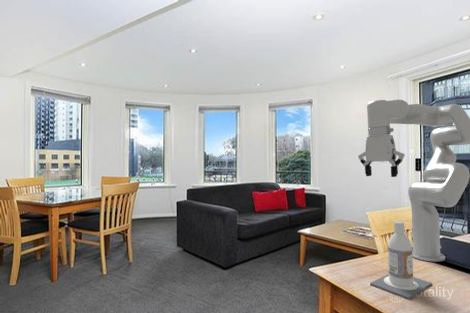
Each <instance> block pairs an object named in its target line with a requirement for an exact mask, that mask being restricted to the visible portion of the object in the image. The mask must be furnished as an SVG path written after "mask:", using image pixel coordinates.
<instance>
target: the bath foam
mask: <svg viewBox="0 0 470 313" xmlns="http://www.w3.org/2000/svg"><path fill="white" fill-rule="evenodd" d="M393 227H394V228H393V231H394V232H393V234H392V235H391V236H390V237H389V240H388V243H387V244H388V245H387V254H388V255H387V257H388V260H387V261H388V262H387V263H388V274H389V280H390V281H391V282H392V283H393V284H396V285H399V286H411V285H413V277H414V267H413V266H414V265H413V264H414V263H413V258H414V257H412V249H413V245H412V243H411V241H410V239H409V238H408V236H407V235H406V233H405V222H403V221H398V220H397V221H394V222H393Z"/></svg>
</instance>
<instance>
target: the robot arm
mask: <svg viewBox="0 0 470 313" xmlns="http://www.w3.org/2000/svg"><path fill="white" fill-rule="evenodd" d="M366 113H367V133H368V134H367V135H368V136H367V137H366V140H365V151H364V152H362V153H361V154H359V155H358V159H359V160H360V163H361V164H362V165H363V167H364V173H365V176H366V177H371V176H372V166H371V164H372V163H373V162H375V163H376V162H388V163H389V164H390V165H391V166H390V177H391V178H396V177H398V174H399V170H398V169H399V168H398V167H399V165H400V164H401V163H403V159H404V158H405V153H404V152H400V151H398V150H397V149H396V143H395V139H394V135H392V134H391V133H393V132H394V128H393V127H391V125H390V124H394V125H395V124H396V125H397V124H398V125H419V126H426V127H437V128H434V129H433V130H432V131H431V133H430V136H429V139H430V142H431V147H432V153H433V154H432V155H431V158H430V160H429V161H428V163H427V165H426V167H425V168H424V170H423V173H422V179H423V181H415V182H413V183H411V184H410V185H409V187H408V189H407V191H408V192H407V194H408V197H409V201H410V208H411V229H412V258H414V259H416V260H421V261H425V262H434V263H437V262H439V263H440V262H443V261H446V255H444V254H443V253H441V248H442V245H441V238H440V237H441V236H440V234H441V232H440V231H441V230H440V215H439V212H438V211H437V208H436V207H441V208H442V207H443V208H452V207H454V206H456V205H457V204H458V202H459V200H460V199H461V197H462V195H463V193H464V191H465V189H466V188H467V186H468V184H469V181H470V170H469V168H468V166H466V165H465V164H464V163H460V162H457V155H456V154H455V152H454V151H453V150H452V148H450V146H462V145H463V146H464V145H466V146H467V145H470V116H469V114H468V113H467V112H466V111H465V109H464V108H463V107H462V106H461V105H459V104H456V103H451V104H445V105H438V106H437V105H436V106H433V105H428V104H427V105H426V104H422V103H412V104H409V103H408V102H407V101H405V100H403V99H393V100H385V99H377V100H372V101H371V100H370V101H369V102H368V103H367V105H366ZM397 156H398V158H397ZM364 157H365V158H364ZM435 206H436V207H435Z"/></svg>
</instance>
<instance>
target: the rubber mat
mask: <svg viewBox="0 0 470 313" xmlns="http://www.w3.org/2000/svg"><path fill="white" fill-rule="evenodd" d="M369 285H370V286H373V287H375V288H378V289H381V290H383V291H386V292H389V293H390V294H392V295H393V294H394V295H396V296H399V297H402V298H404V299H407V300H410V299H412V298H413V297H415V296H417V295H418V294H420V293H421V292H423V291H424V290H426V289H427V288H429V287H431V286H432V285H433V284H432V282H430V281H427V280H423V279H421V278H418V277H414V276H413V285H411V286H399V285H396V284H393V283H392V282H391V281H390V280H389V273H387V274H386V275H383V276H382V277H380V278H378V279H375V280H374V281H371V282H369Z"/></svg>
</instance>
